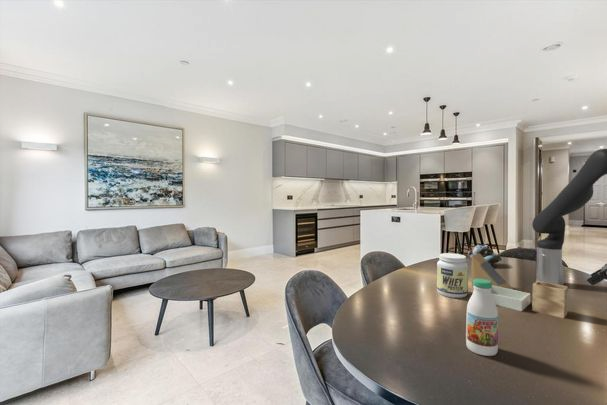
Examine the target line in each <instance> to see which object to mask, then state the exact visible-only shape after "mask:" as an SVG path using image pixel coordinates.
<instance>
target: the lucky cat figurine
mask: <svg viewBox="0 0 607 405" xmlns="http://www.w3.org/2000/svg"><path fill="white" fill-rule="evenodd" d="M479 253H480V254H481V255H482V256H483V257H484V258H485V260H486V261H487V262H488V263H489V264H490V265H491V266H492V265H493V264H497V263H499V262H501V261H502V260H503V259H502V258H501V256H500V255H499V254H498V253H495V252H494V250H492V248H491V247H490V246H489V244H486V245H484V244H481V243H479V244H478V245H475V246H474V247H469V248H468V251H467V254H468V256H469V257H470V258H471V259H472V256H473V255H476V254H479Z"/></svg>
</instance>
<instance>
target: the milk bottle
mask: <svg viewBox="0 0 607 405" xmlns="http://www.w3.org/2000/svg"><path fill="white" fill-rule="evenodd" d="M472 288H473V292H472V293H471V294H472V295H470V298H469V300H468V301H467V306H466V320H465V321H466V324H465V325H466V327H465V330H466V331H465V343H466V348H467V349H468V350H469V351H471V352H473V353H474V354H477V355H481V356H485V357H492V356H496V355H497V353H498V349H499V347H498V346H499V312H498V307H497V305H496V304H495V302H494V300H493V298H492V295H491V290H492V282H491V281H489V280H486V279H474V280H473V287H472Z"/></svg>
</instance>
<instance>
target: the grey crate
mask: <svg viewBox="0 0 607 405" xmlns="http://www.w3.org/2000/svg"><path fill="white" fill-rule="evenodd" d="M491 295H492V298H493V300H494V302H495V304H496V306H500V307H502V308H508V309H511V310H514V311H518V312H523V311H524V310H525V309H526V308H527V307H528V306H529V305H530V304H531V293H529V292H524V291H520V290H515V289H514V290H512V289H507V288H502V287H497V286H493V285H492V290H491Z"/></svg>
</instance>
